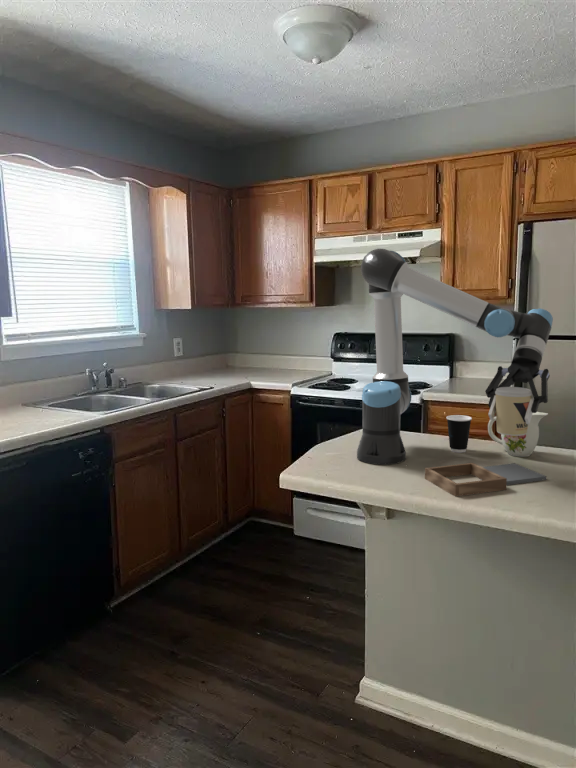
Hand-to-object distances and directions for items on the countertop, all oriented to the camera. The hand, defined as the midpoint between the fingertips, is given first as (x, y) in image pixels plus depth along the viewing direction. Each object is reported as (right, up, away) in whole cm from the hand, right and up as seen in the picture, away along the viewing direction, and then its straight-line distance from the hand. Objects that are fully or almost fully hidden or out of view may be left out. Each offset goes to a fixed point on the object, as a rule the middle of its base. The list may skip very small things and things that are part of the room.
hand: (508, 419), depth 150 cm
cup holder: (-12, -17, -1) cm, 21 cm away
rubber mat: (+2, -16, +5) cm, 17 cm away
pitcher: (+13, -13, +27) cm, 32 cm away
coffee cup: (+2, -4, +3) cm, 5 cm away
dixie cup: (-4, -12, +31) cm, 34 cm away
